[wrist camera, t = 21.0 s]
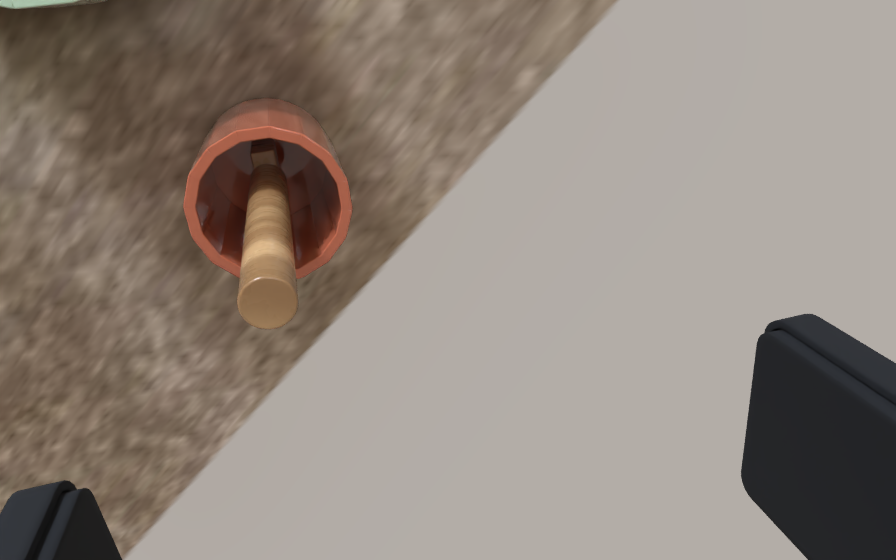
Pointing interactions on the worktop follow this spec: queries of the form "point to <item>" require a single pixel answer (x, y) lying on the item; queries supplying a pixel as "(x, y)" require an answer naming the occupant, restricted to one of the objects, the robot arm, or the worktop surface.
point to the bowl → (44, 3)
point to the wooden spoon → (267, 245)
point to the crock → (228, 178)
